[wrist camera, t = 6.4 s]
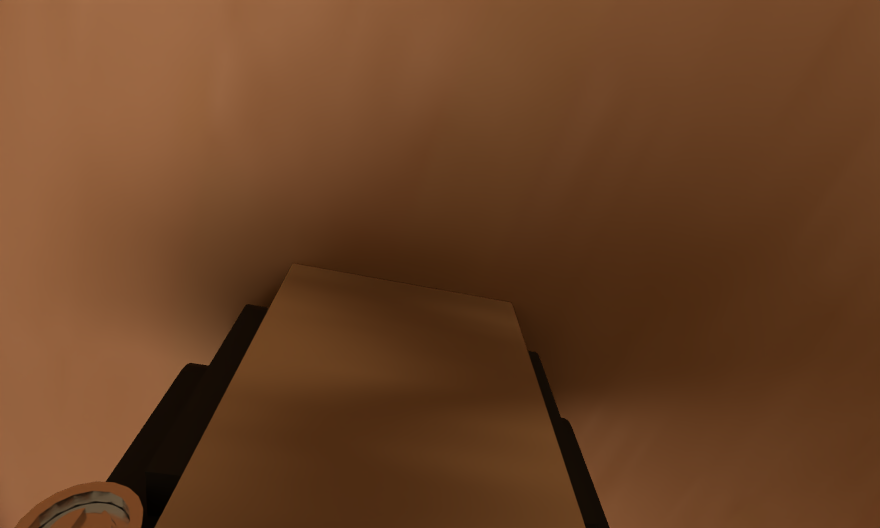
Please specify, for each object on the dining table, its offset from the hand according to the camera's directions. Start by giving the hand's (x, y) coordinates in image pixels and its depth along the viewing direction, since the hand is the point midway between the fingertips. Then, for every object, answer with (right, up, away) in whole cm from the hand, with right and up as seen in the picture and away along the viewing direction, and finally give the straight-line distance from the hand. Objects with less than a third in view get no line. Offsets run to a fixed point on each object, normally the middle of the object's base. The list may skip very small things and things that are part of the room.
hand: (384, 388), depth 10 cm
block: (0, 0, +1) cm, 1 cm away
